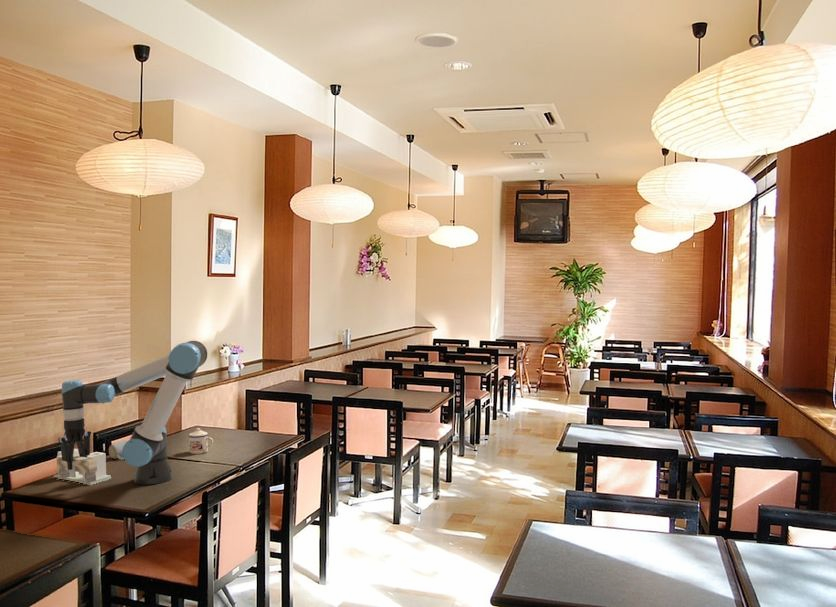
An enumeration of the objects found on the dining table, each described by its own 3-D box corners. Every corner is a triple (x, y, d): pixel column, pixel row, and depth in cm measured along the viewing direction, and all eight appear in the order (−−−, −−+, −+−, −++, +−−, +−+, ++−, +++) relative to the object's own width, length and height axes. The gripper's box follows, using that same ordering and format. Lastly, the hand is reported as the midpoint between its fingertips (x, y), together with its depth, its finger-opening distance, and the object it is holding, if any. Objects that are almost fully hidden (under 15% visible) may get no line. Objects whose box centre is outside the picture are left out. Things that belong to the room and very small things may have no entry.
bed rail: (97, 480, 280) (96, 458, 280) (90, 483, 277) (88, 461, 277) (65, 475, 289) (64, 454, 289) (57, 478, 286) (56, 456, 286)
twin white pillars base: (111, 479, 300) (110, 452, 300) (90, 485, 291) (89, 458, 291) (74, 472, 311) (73, 447, 311) (53, 478, 302) (52, 452, 302)
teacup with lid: (186, 454, 340) (185, 430, 340) (193, 449, 350) (193, 426, 349) (209, 454, 339) (208, 430, 339) (216, 449, 348) (216, 426, 348)
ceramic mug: (107, 458, 335) (107, 442, 335) (124, 454, 342) (123, 439, 341) (118, 462, 329) (118, 446, 328) (135, 458, 335) (134, 442, 335)
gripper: (85, 414, 291) (89, 469, 292) (48, 422, 276) (52, 480, 277) (97, 415, 288) (101, 471, 289) (61, 423, 273) (64, 482, 274)
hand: (77, 475), depth 283 cm, fingers closed on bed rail, 3 cm apart
